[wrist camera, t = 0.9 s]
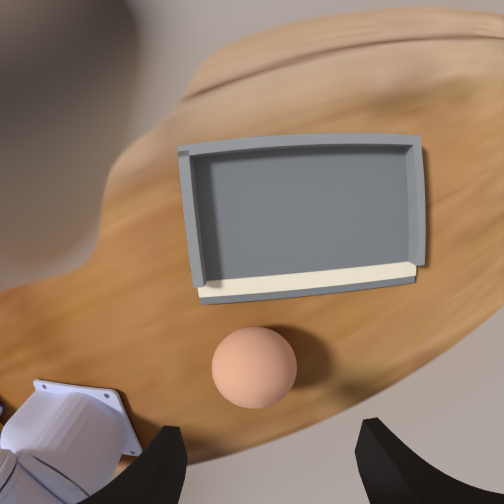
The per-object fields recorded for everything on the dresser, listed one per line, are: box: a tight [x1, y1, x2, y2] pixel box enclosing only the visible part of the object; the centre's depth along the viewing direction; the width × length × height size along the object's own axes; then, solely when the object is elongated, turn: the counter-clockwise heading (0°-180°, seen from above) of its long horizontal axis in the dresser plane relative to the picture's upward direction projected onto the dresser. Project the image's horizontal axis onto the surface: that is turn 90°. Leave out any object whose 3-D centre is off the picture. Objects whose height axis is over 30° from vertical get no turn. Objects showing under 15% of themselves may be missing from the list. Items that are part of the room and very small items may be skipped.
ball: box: [212, 327, 297, 409], centre depth 17 cm, size 5×5×5 cm
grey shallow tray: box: [177, 133, 426, 305], centre depth 17 cm, size 14×9×2 cm
